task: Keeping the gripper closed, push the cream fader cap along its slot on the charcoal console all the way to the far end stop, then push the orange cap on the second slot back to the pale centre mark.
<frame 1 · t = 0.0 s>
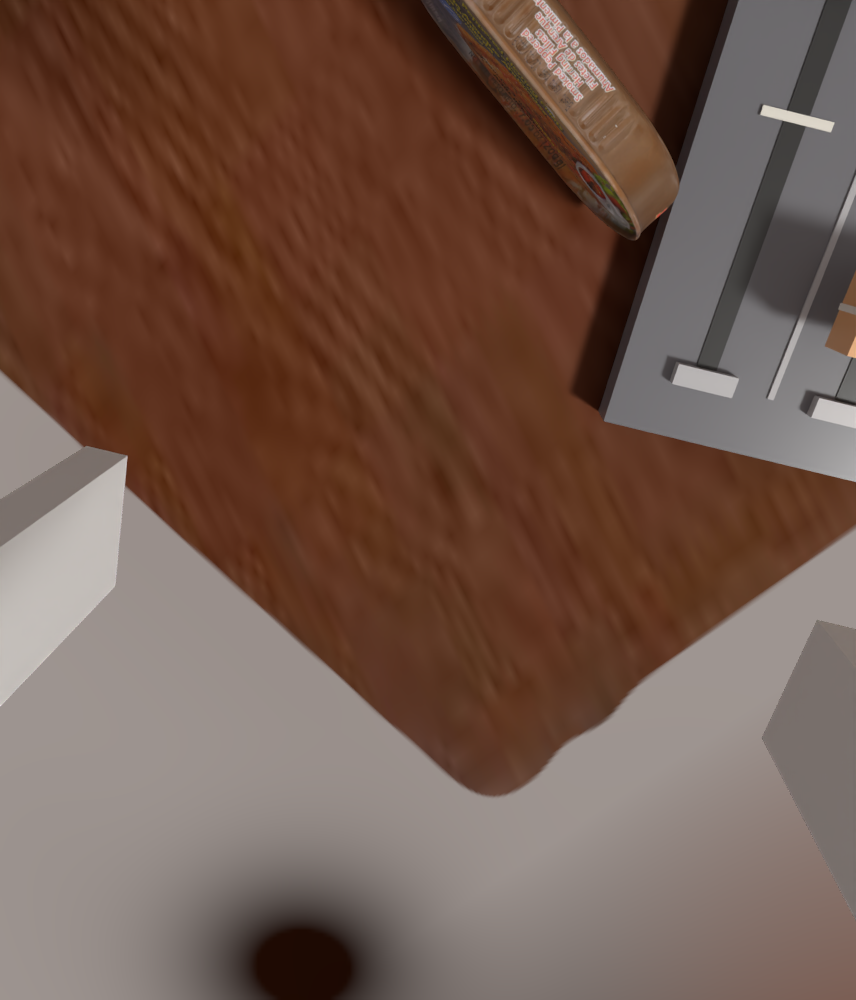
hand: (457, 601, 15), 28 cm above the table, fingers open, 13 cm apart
tin: (537, 93, 37), on the table
console: (853, 141, 37), on the table
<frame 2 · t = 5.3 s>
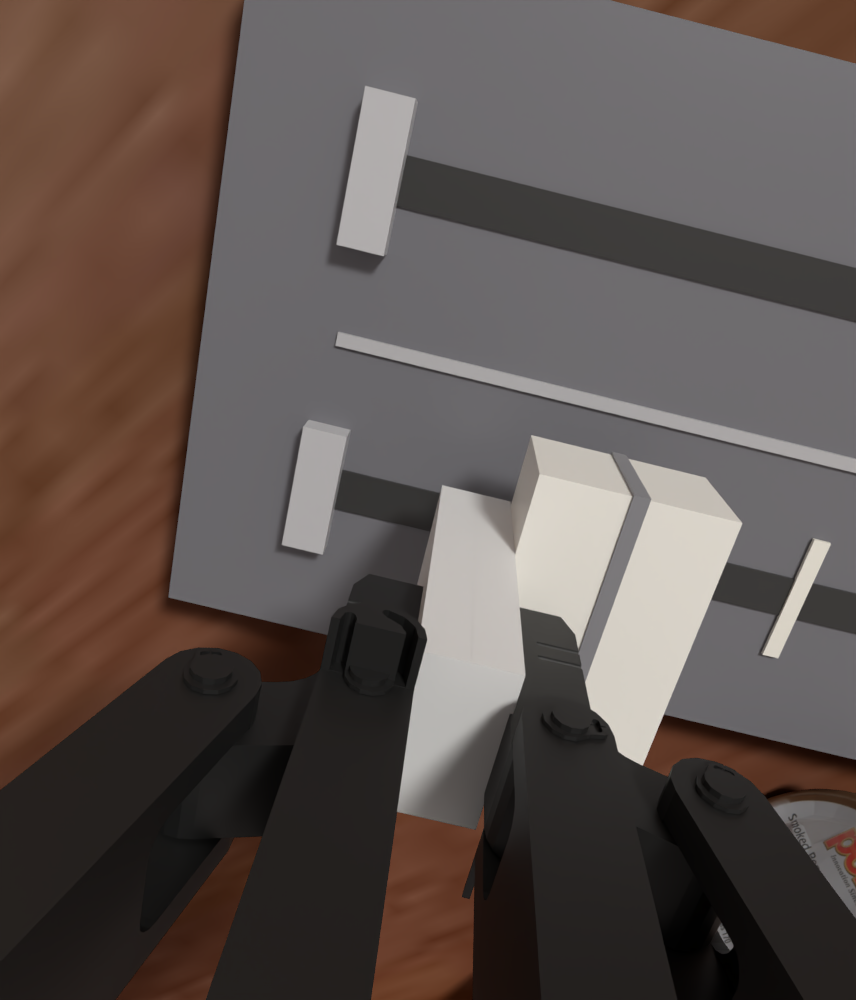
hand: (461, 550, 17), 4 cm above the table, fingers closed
tin: (665, 874, 25), on the table
fader cream: (575, 591, 17), point 5 cm above the table, slide at -5.7 cm, touching gripper
console: (819, 440, 20), on the table
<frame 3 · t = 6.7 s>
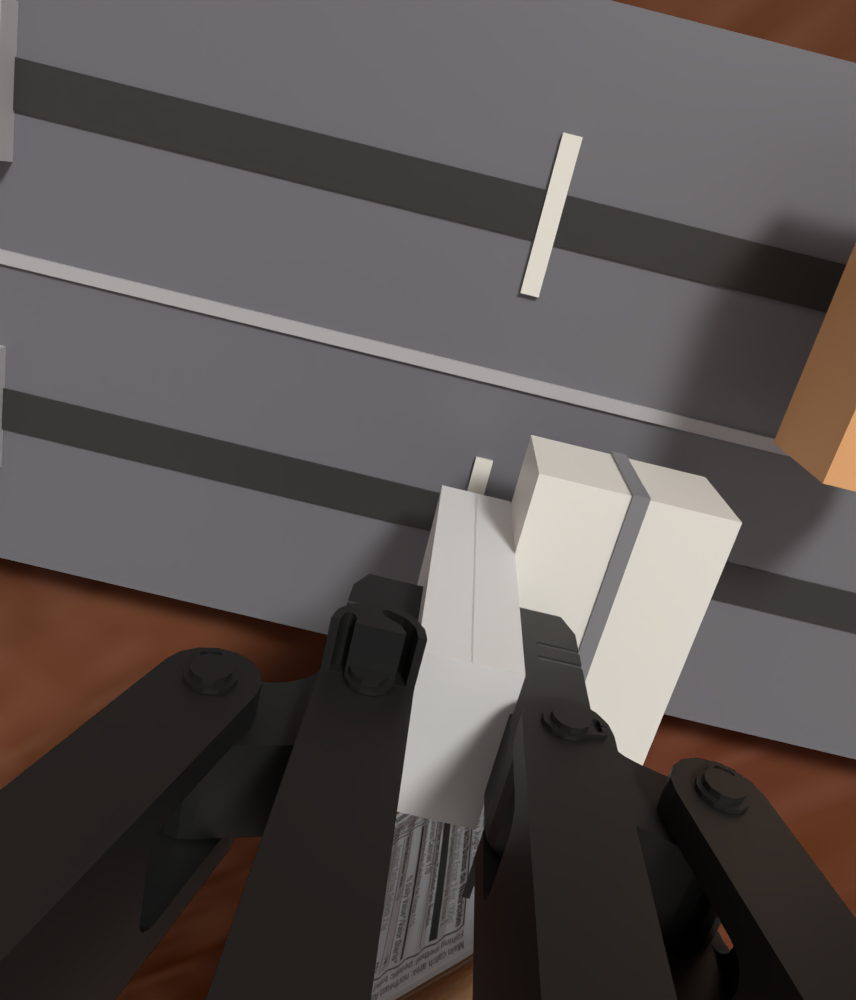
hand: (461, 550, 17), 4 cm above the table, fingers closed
tin: (419, 817, 25), on the table
fader cream: (575, 591, 17), point 5 cm above the table, slide at 2.4 cm, touching gripper
console: (503, 362, 20), on the table
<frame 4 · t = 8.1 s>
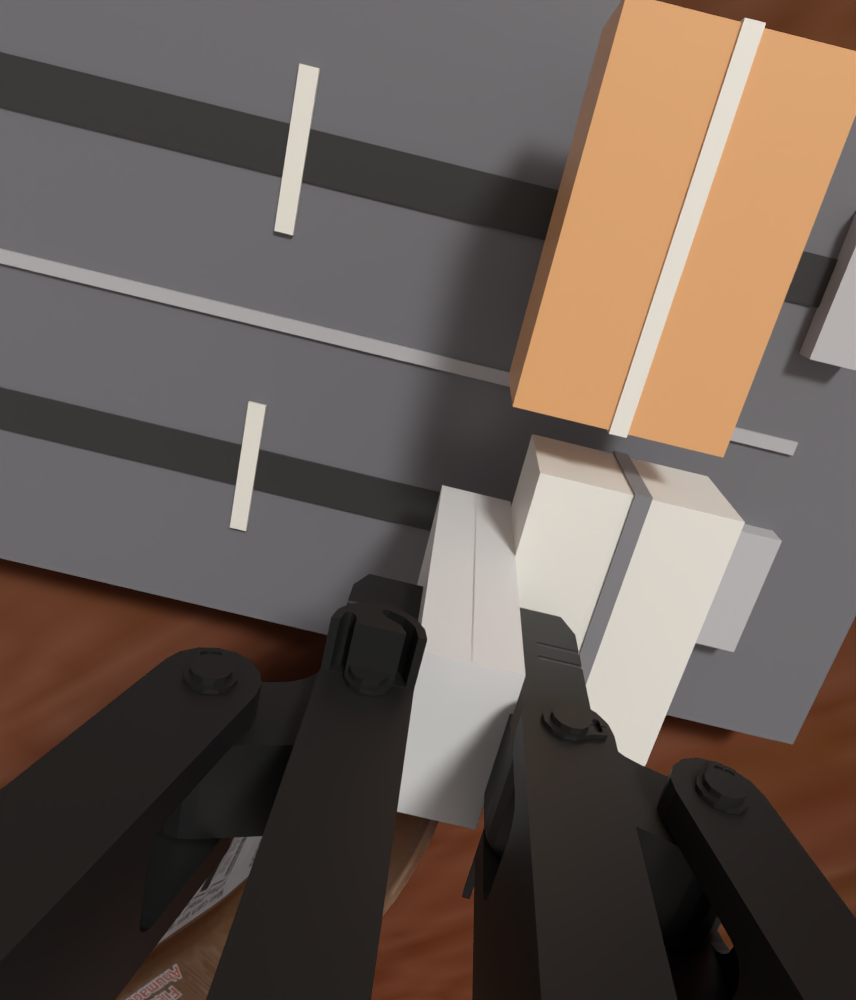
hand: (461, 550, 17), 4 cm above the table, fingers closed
tin: (254, 780, 25), on the table
fader cream: (577, 591, 17), point 5 cm above the table, slide at 7.8 cm, touching gripper
fader orange: (651, 240, 14), point 5 cm above the table, slide at 7.0 cm
console: (291, 309, 19), on the table
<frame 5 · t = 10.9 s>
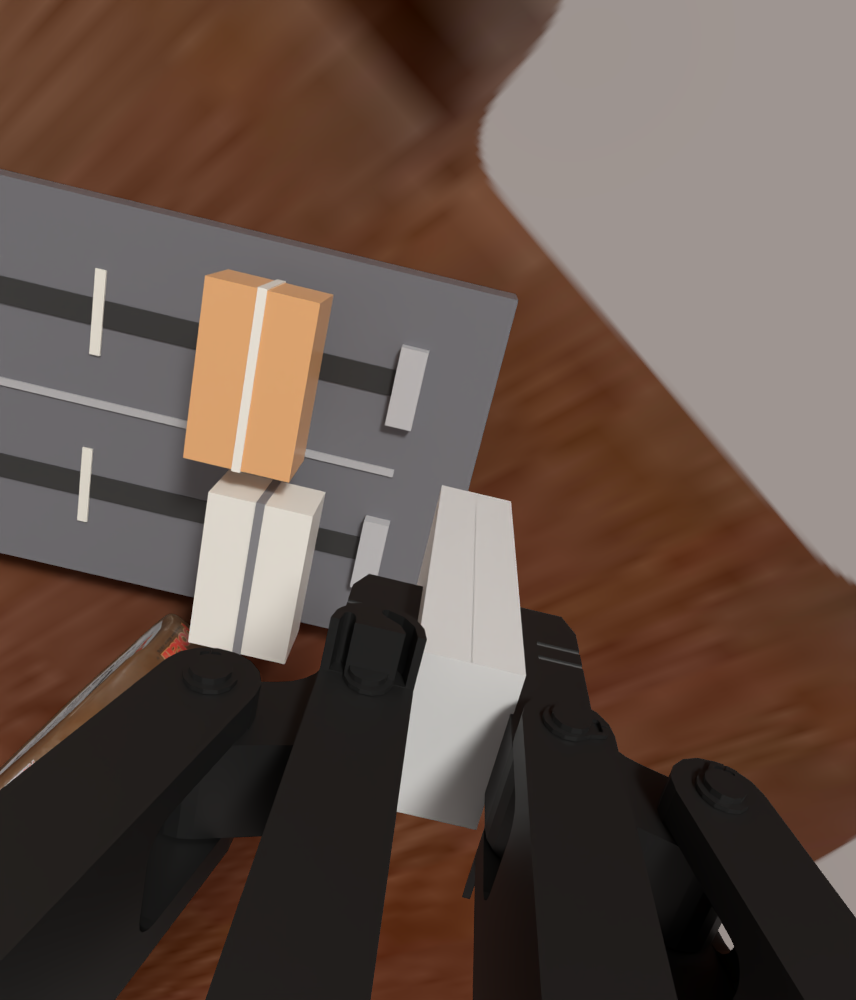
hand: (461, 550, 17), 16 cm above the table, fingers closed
tin: (116, 686, 38), on the table
fader cream: (263, 555, 30), point 5 cm above the table, slide at 8.0 cm
fader orange: (265, 370, 27), point 5 cm above the table, slide at 7.0 cm
console: (114, 390, 33), on the table
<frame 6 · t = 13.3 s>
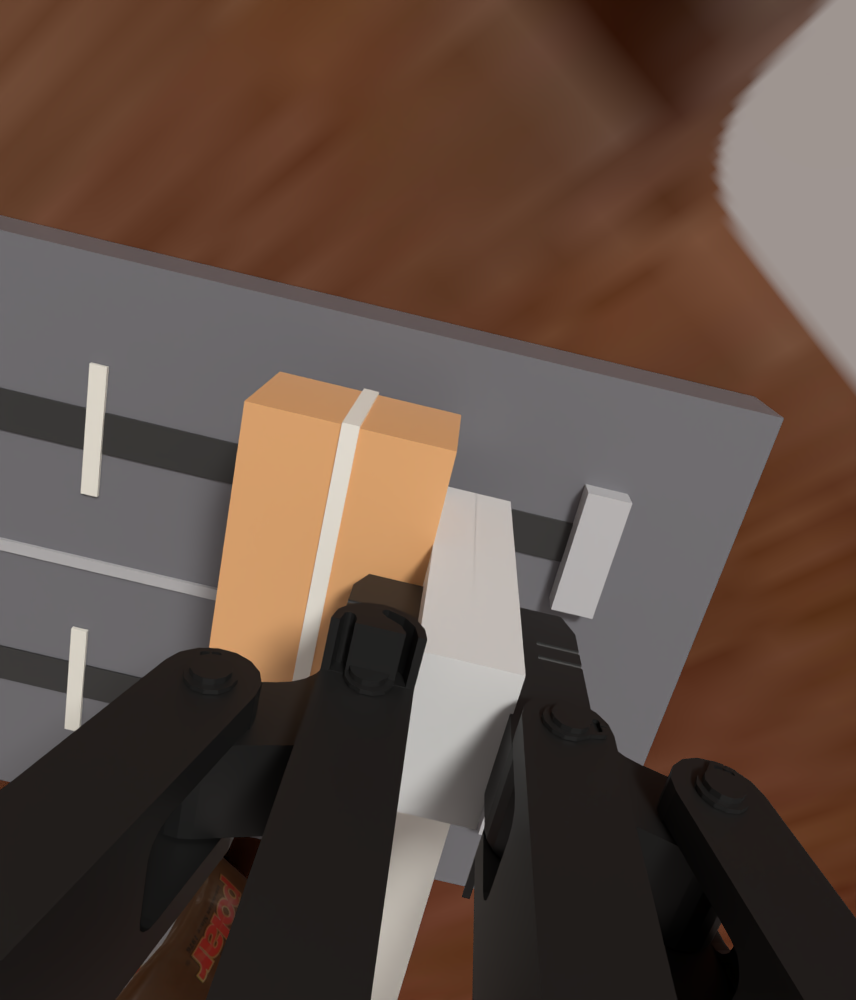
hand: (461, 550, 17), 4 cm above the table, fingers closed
tin: (123, 917, 27), on the table
fader cream: (357, 815, 19), point 5 cm above the table, slide at 8.0 cm
fader orange: (340, 535, 16), point 5 cm above the table, slide at 6.3 cm, touching gripper
console: (120, 531, 22), on the table
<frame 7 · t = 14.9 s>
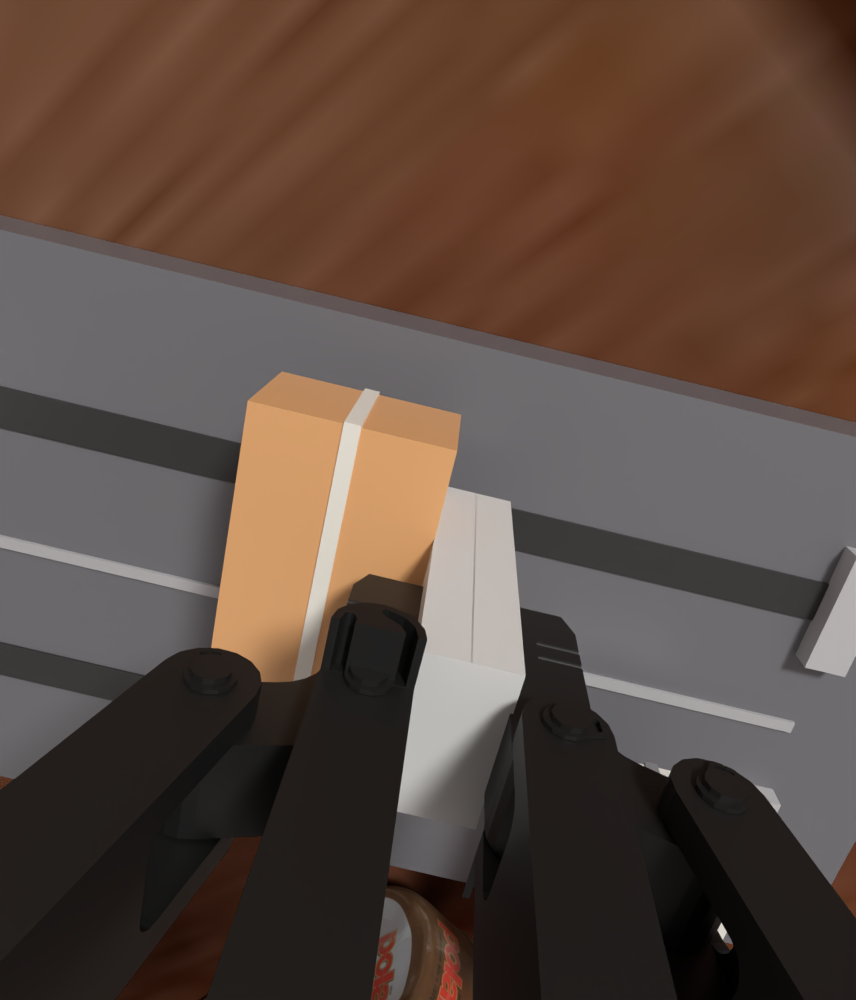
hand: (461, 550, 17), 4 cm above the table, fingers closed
tin: (301, 954, 27), on the table
fader cream: (612, 870, 19), point 5 cm above the table, slide at 8.0 cm
fader orange: (341, 534, 16), point 5 cm above the table, slide at 0.0 cm, touching gripper
console: (345, 582, 22), on the table
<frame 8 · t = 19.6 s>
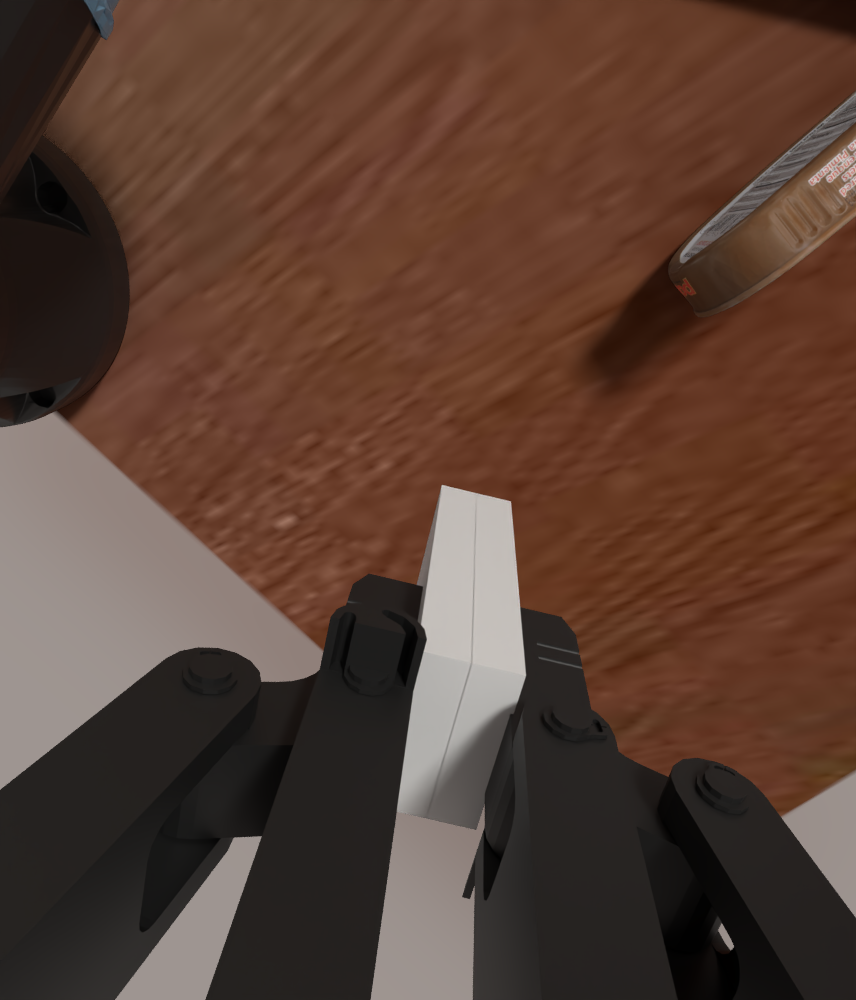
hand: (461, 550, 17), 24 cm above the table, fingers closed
tin: (793, 170, 36), on the table
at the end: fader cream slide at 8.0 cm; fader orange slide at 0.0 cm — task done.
